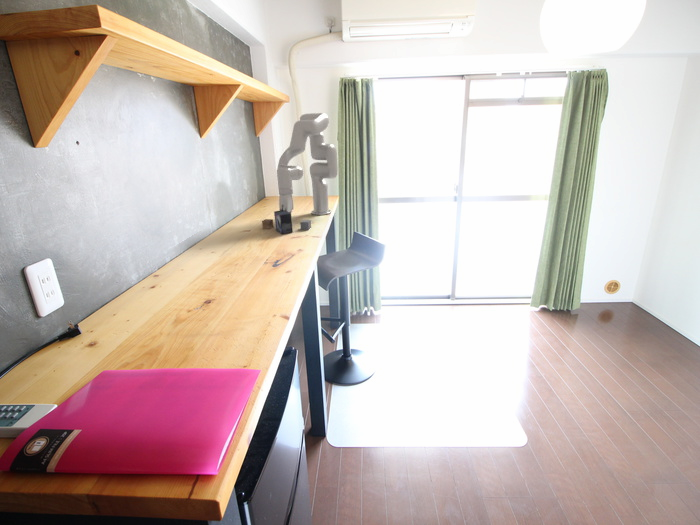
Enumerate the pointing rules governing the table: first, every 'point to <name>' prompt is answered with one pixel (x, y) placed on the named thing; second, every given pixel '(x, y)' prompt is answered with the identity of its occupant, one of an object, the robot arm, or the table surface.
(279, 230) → the small box
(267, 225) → the walnut block
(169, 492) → the table surface
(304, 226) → the charcoal block
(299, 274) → the table surface
